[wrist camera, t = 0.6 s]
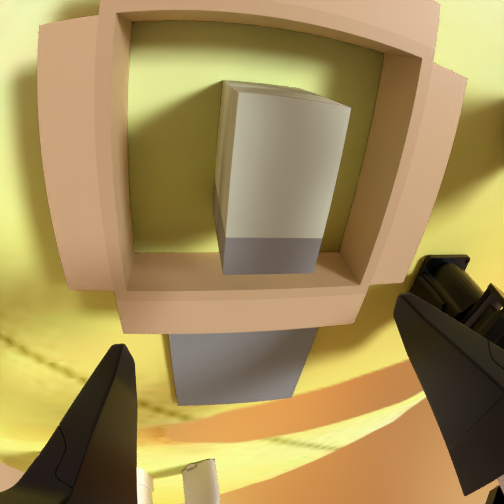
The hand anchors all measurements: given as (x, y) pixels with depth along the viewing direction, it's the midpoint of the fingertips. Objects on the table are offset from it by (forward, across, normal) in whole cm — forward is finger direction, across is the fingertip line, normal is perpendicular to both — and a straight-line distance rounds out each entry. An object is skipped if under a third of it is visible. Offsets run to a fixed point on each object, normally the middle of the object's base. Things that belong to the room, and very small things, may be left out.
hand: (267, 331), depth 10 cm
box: (+12, -2, -2) cm, 12 cm away
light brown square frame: (+12, -2, -2) cm, 12 cm away
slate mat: (+12, +1, +19) cm, 23 cm away
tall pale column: (+13, +12, +49) cm, 52 cm away
